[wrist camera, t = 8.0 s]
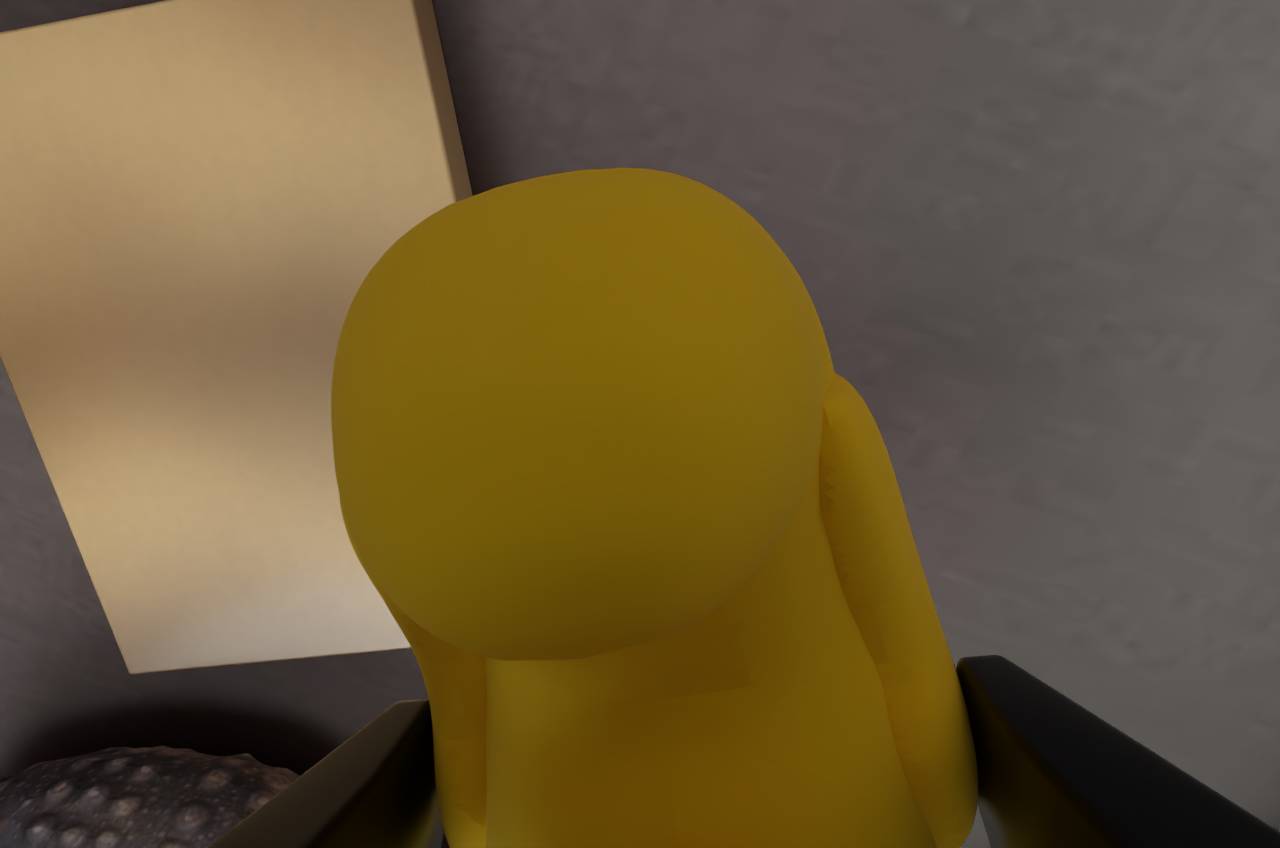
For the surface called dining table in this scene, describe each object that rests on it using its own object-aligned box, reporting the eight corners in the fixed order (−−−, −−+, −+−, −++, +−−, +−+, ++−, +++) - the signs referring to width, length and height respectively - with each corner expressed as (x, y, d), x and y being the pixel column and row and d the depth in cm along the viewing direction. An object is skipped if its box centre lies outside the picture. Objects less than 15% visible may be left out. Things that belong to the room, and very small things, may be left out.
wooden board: (559, 605, 23) (549, 636, 22) (161, 644, 25) (128, 676, 23) (425, -34, 18) (402, -48, 17) (-64, 61, 20) (-124, 55, 18)
